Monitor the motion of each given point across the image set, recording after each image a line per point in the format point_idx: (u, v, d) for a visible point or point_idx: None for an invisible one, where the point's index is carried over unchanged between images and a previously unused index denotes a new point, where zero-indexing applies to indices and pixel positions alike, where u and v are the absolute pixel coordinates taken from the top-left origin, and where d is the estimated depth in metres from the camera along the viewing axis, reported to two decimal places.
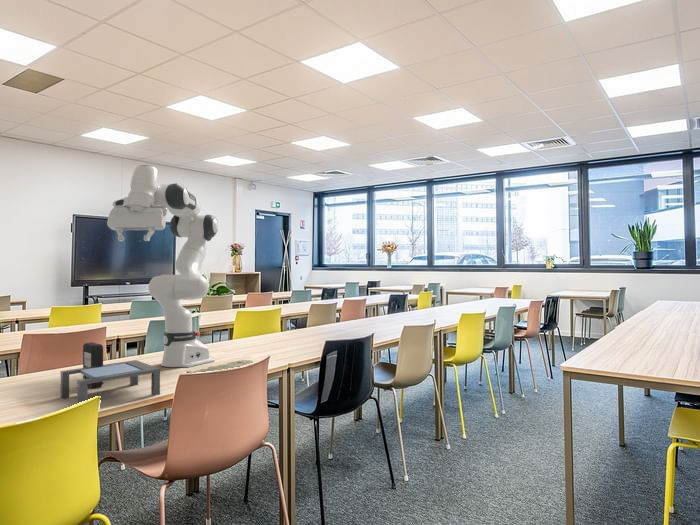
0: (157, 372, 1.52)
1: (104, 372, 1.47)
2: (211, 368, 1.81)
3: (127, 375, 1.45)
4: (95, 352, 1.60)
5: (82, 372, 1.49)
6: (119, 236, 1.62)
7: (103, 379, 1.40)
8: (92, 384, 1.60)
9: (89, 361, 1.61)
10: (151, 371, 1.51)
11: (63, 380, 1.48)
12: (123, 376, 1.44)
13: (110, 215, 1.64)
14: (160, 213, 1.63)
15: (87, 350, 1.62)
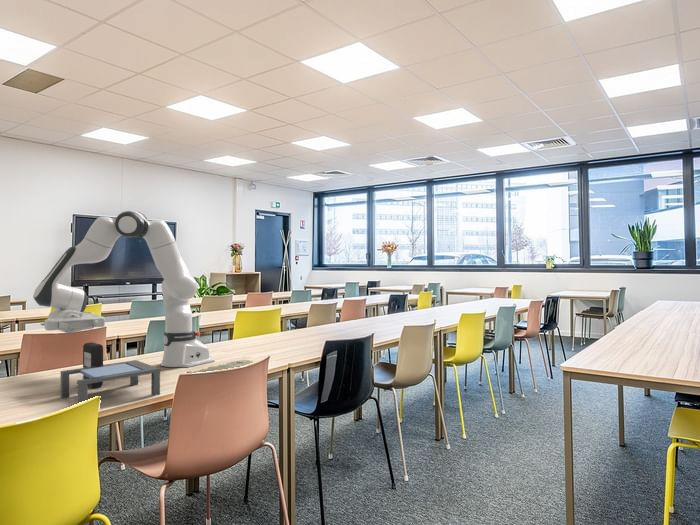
0: (157, 372, 1.52)
1: (104, 372, 1.47)
2: (211, 368, 1.81)
3: (127, 375, 1.45)
4: (95, 352, 1.60)
5: (82, 372, 1.49)
6: None
7: (103, 379, 1.40)
8: (92, 384, 1.60)
9: (89, 361, 1.61)
10: (151, 371, 1.51)
11: (63, 380, 1.48)
12: (123, 376, 1.44)
13: None
14: None
15: (87, 350, 1.62)
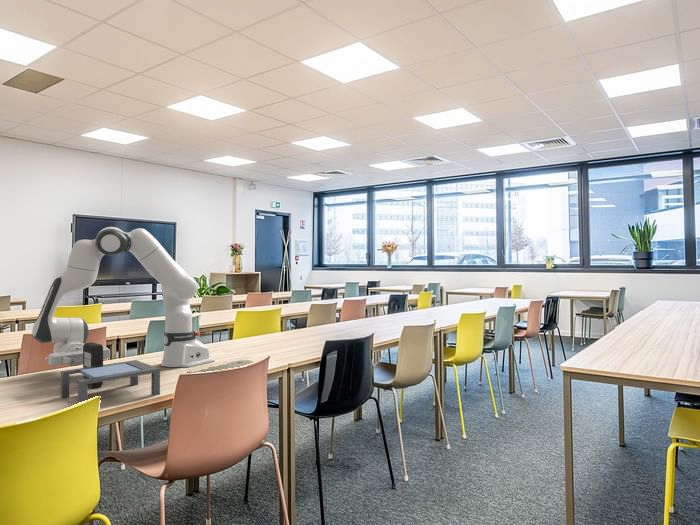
0: (157, 372, 1.52)
1: (104, 372, 1.47)
2: (211, 368, 1.81)
3: (127, 375, 1.45)
4: (95, 352, 1.60)
5: (82, 372, 1.49)
6: None
7: (103, 379, 1.40)
8: (92, 384, 1.60)
9: (89, 361, 1.61)
10: (151, 371, 1.51)
11: (63, 380, 1.48)
12: (123, 376, 1.44)
13: None
14: None
15: (87, 350, 1.62)
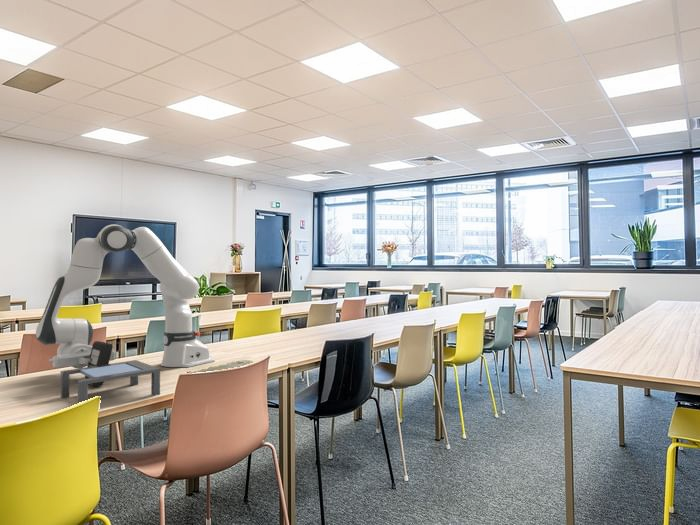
0: (157, 372, 1.52)
1: (104, 372, 1.47)
2: (211, 368, 1.81)
3: (127, 375, 1.45)
4: (104, 350, 1.62)
5: (82, 372, 1.49)
6: None
7: (103, 379, 1.40)
8: None
9: (96, 358, 1.63)
10: (151, 371, 1.51)
11: (63, 380, 1.48)
12: (123, 376, 1.44)
13: None
14: None
15: (96, 347, 1.65)
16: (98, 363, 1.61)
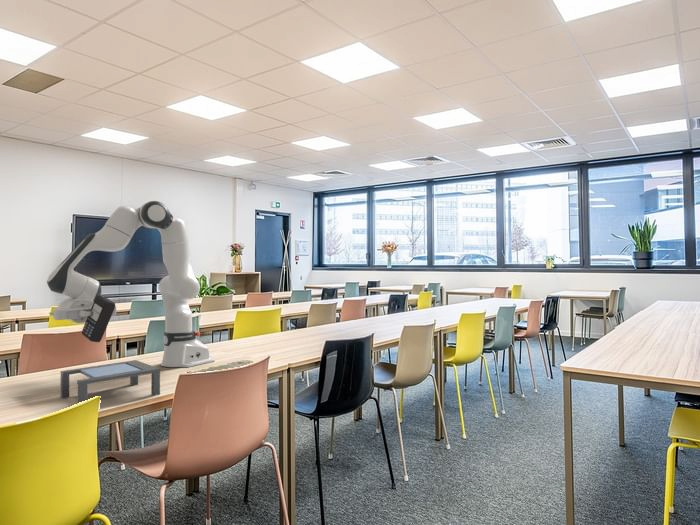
0: (157, 372, 1.52)
1: (104, 372, 1.47)
2: (212, 368, 1.81)
3: (127, 375, 1.45)
4: (106, 308, 1.60)
5: (82, 372, 1.49)
6: None
7: (103, 379, 1.40)
8: (91, 337, 1.59)
9: (97, 314, 1.61)
10: (151, 371, 1.51)
11: (63, 380, 1.48)
12: (123, 376, 1.44)
13: None
14: None
15: (98, 303, 1.62)
16: (99, 320, 1.60)
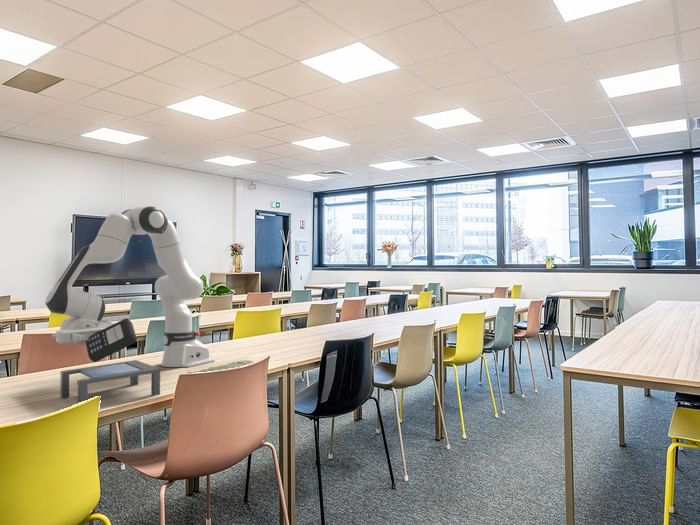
0: (157, 372, 1.52)
1: (104, 372, 1.47)
2: (212, 369, 1.80)
3: (127, 375, 1.45)
4: (126, 341, 1.50)
5: (82, 372, 1.49)
6: None
7: (103, 379, 1.40)
8: (92, 355, 1.48)
9: (114, 338, 1.51)
10: (151, 371, 1.51)
11: (63, 380, 1.48)
12: (123, 376, 1.44)
13: None
14: None
15: (123, 329, 1.53)
16: (111, 346, 1.49)
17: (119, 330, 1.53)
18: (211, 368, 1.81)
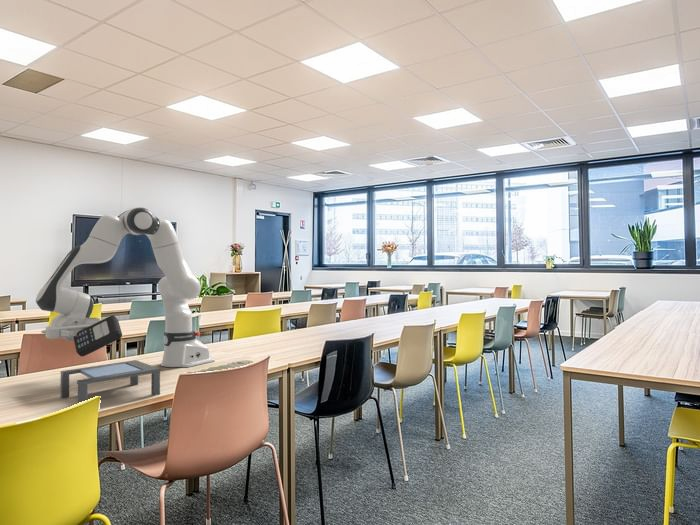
0: (157, 372, 1.52)
1: (104, 372, 1.47)
2: (212, 369, 1.80)
3: (127, 375, 1.45)
4: (112, 336, 1.59)
5: (82, 372, 1.49)
6: None
7: (103, 379, 1.40)
8: (79, 350, 1.57)
9: (101, 334, 1.60)
10: (151, 371, 1.51)
11: (63, 380, 1.48)
12: (123, 376, 1.44)
13: None
14: None
15: (109, 325, 1.61)
16: (98, 341, 1.58)
17: (105, 326, 1.61)
18: (211, 368, 1.81)
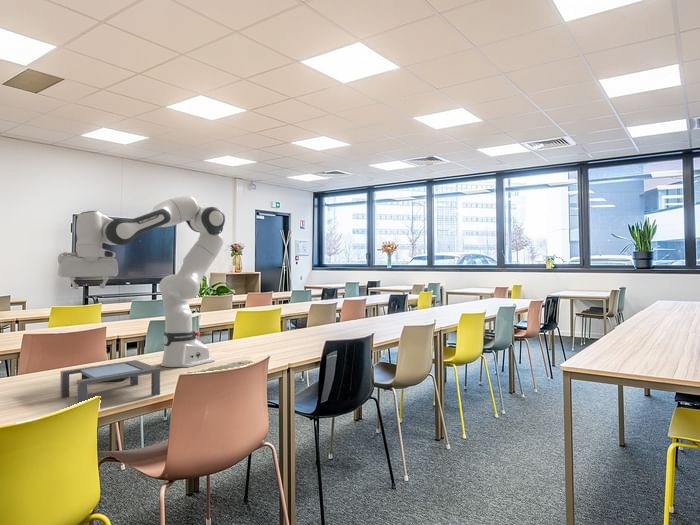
0: (157, 372, 1.52)
1: (104, 372, 1.47)
2: (212, 369, 1.80)
3: (127, 375, 1.45)
4: None
5: (82, 372, 1.49)
6: None
7: (103, 379, 1.40)
8: None
9: None
10: (151, 371, 1.51)
11: (63, 380, 1.48)
12: (123, 376, 1.44)
13: None
14: None
15: None
16: None
17: None
18: (211, 368, 1.81)
